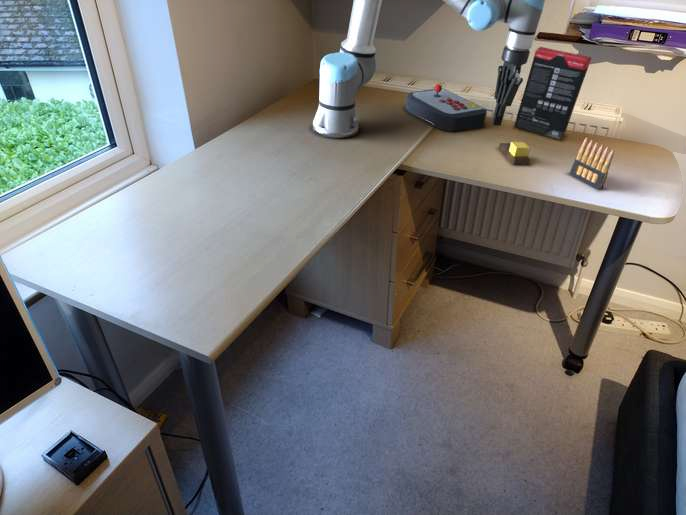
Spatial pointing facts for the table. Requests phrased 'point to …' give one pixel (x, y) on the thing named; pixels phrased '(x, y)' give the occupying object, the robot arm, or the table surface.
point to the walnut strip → (514, 160)
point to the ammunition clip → (592, 165)
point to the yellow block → (519, 149)
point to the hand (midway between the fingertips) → (495, 124)
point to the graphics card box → (551, 92)
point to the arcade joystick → (445, 109)
